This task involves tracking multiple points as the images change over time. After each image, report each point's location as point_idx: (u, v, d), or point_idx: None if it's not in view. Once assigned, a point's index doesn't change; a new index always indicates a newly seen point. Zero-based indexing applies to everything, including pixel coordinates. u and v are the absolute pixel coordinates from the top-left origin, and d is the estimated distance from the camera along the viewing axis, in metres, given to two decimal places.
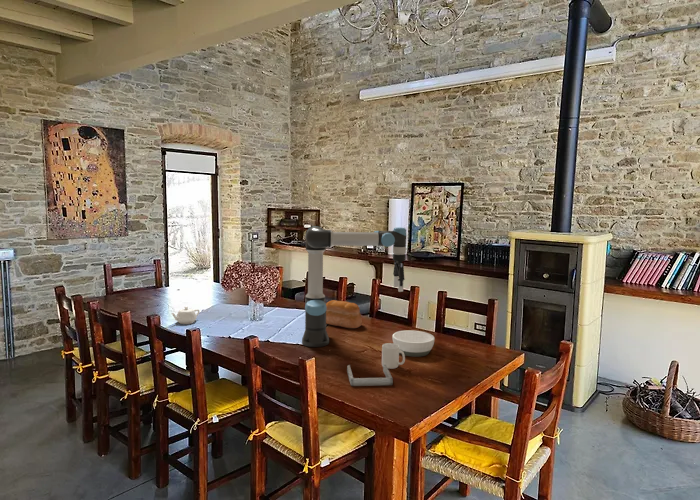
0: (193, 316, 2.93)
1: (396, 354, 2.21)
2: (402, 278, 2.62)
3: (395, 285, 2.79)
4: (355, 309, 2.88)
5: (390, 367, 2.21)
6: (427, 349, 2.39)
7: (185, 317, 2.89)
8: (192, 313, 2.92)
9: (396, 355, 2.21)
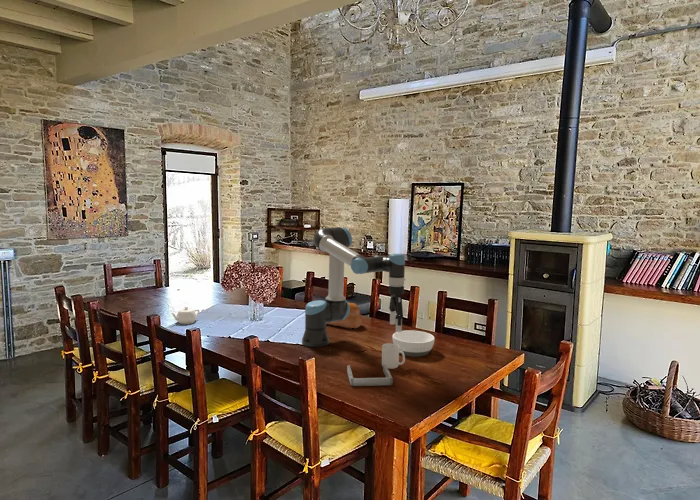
0: (193, 316, 2.93)
1: (396, 354, 2.21)
2: (400, 316, 2.16)
3: (392, 322, 2.33)
4: (355, 309, 2.88)
5: (390, 367, 2.21)
6: (427, 349, 2.39)
7: (185, 317, 2.89)
8: (192, 313, 2.92)
9: (396, 355, 2.21)
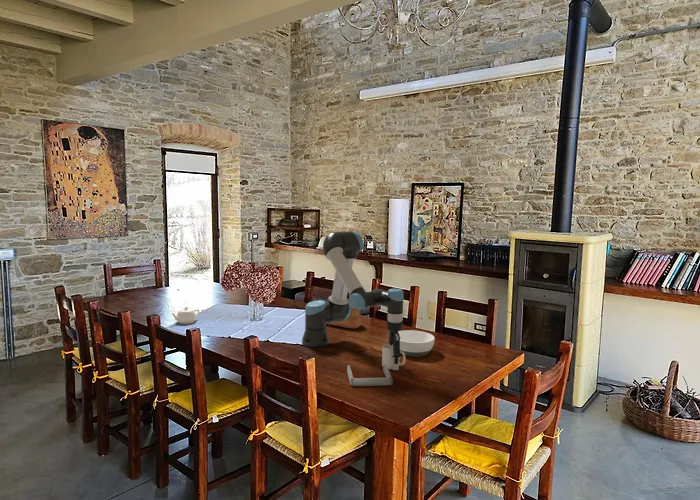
0: (193, 316, 2.93)
1: (396, 354, 2.20)
2: (397, 355, 2.15)
3: None
4: (355, 309, 2.88)
5: (390, 368, 2.20)
6: (427, 349, 2.39)
7: (185, 317, 2.89)
8: (192, 313, 2.92)
9: None
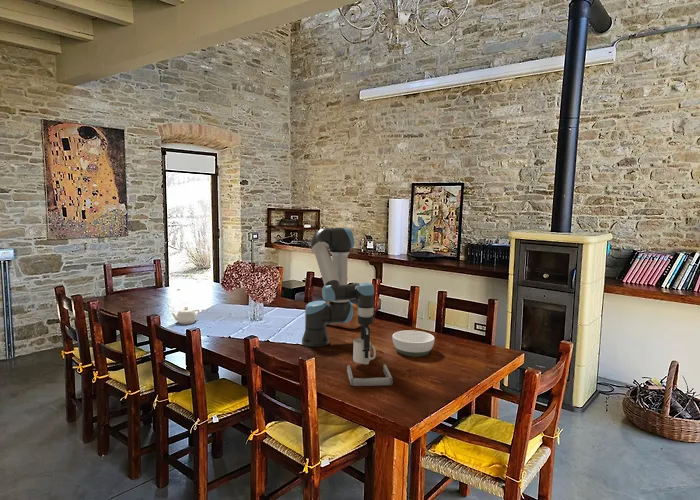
0: (193, 316, 2.93)
1: None
2: (367, 349, 2.15)
3: None
4: (354, 309, 2.87)
5: (361, 362, 2.20)
6: (427, 349, 2.39)
7: (185, 317, 2.89)
8: (192, 313, 2.92)
9: None
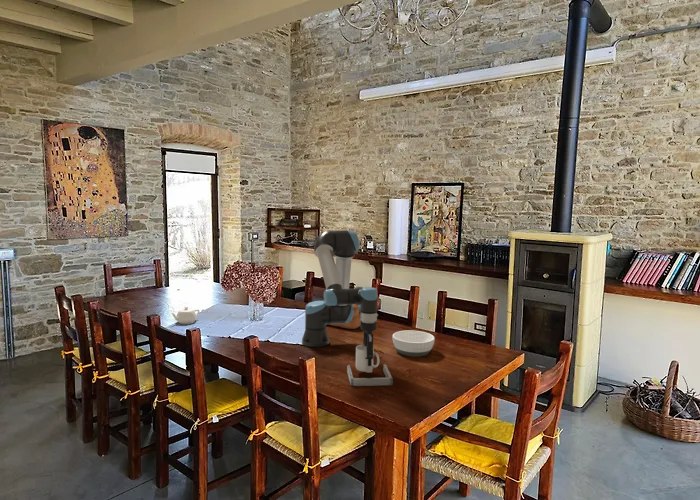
0: (193, 316, 2.93)
1: None
2: (370, 357, 2.05)
3: None
4: (354, 309, 2.87)
5: (364, 370, 2.10)
6: (427, 349, 2.39)
7: (185, 317, 2.89)
8: (192, 313, 2.92)
9: None
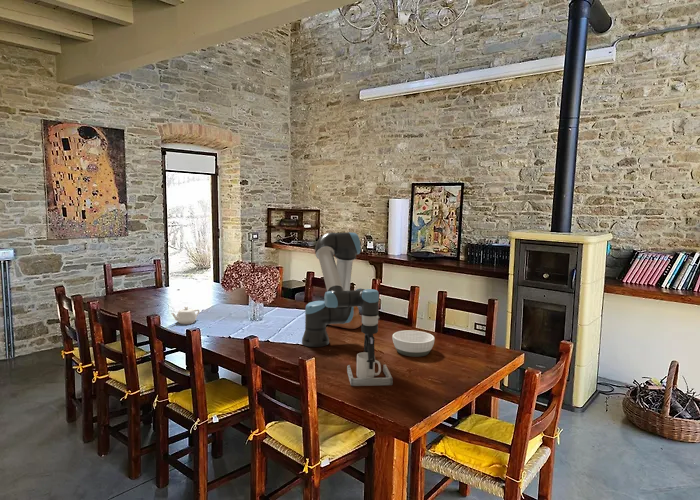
0: (193, 316, 2.93)
1: None
2: (372, 360, 2.01)
3: None
4: (354, 309, 2.87)
5: None
6: (427, 349, 2.39)
7: (185, 317, 2.89)
8: (192, 313, 2.92)
9: None
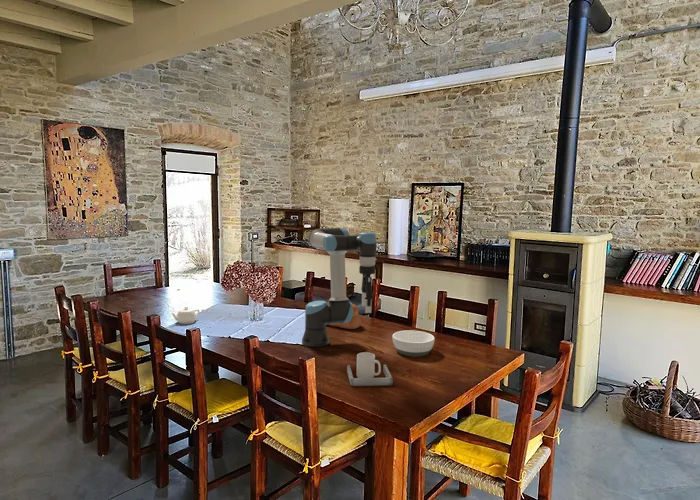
0: (193, 316, 2.93)
1: (371, 364, 2.07)
2: (370, 296, 2.09)
3: (363, 304, 2.25)
4: (353, 310, 2.87)
5: None
6: (427, 349, 2.39)
7: (185, 317, 2.89)
8: (192, 313, 2.92)
9: (371, 365, 2.07)
